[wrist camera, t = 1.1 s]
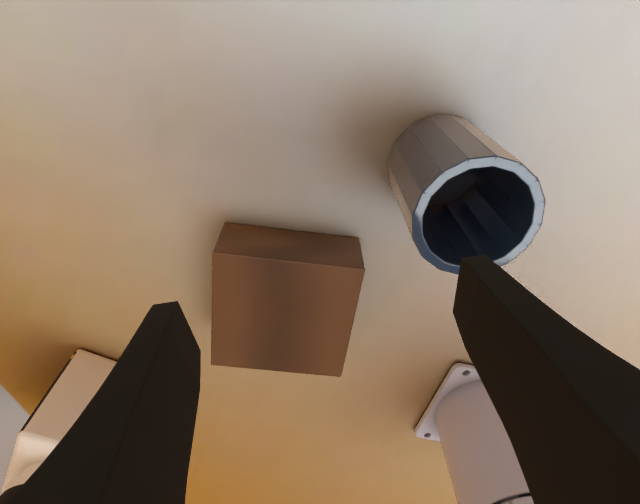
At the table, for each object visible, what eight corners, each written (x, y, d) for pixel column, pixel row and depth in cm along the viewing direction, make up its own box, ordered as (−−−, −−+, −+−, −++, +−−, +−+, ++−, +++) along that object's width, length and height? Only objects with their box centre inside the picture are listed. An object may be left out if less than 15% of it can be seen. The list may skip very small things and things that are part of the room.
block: (359, 237, 26) (365, 269, 23) (338, 339, 30) (340, 377, 27) (224, 222, 25) (212, 252, 22) (221, 327, 29) (210, 365, 26)
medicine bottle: (77, 345, 30) (-49, 527, 20) (176, 380, 32) (108, 564, 21) (56, 407, 33) (-63, 593, 23) (147, 436, 35) (76, 620, 25)
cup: (503, 130, 23) (570, 177, 17) (460, 217, 25) (505, 286, 19) (409, 101, 22) (444, 140, 16) (374, 195, 25) (393, 259, 19)
